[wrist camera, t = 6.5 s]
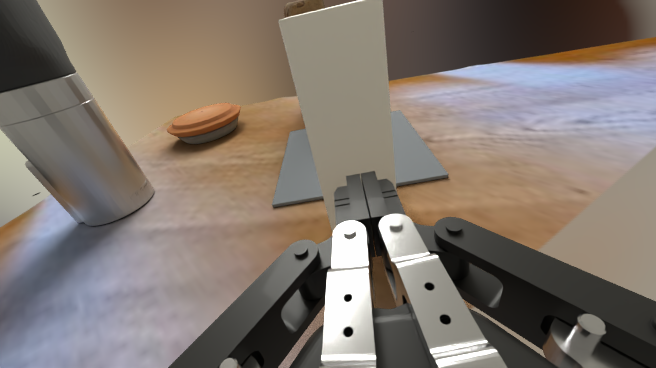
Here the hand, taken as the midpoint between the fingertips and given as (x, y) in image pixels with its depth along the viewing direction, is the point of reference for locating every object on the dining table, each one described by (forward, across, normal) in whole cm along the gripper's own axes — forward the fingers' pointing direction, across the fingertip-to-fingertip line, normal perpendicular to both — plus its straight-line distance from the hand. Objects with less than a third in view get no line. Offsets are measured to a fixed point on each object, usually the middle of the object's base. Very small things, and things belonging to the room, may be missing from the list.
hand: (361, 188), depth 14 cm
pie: (+46, +29, +10) cm, 55 cm away
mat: (+25, 0, +10) cm, 27 cm away
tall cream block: (+10, 0, +10) cm, 14 cm away
